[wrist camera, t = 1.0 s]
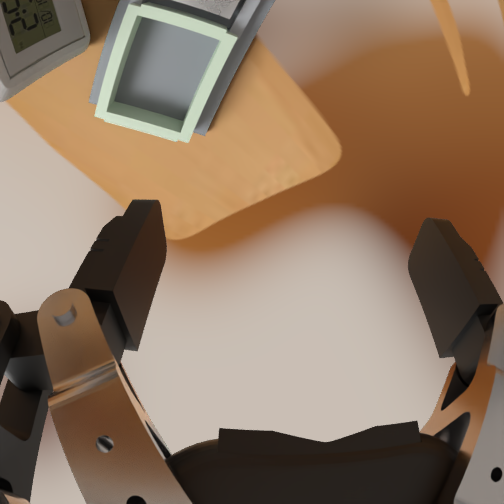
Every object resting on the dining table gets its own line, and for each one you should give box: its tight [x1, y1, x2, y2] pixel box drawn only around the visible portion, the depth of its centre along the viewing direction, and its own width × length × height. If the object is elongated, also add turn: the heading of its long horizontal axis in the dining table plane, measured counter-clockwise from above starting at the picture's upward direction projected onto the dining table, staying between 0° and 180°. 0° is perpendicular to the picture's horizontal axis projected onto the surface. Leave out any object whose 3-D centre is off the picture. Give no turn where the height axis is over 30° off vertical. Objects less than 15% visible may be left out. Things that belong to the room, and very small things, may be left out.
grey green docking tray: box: [89, 0, 275, 143], centre depth 20 cm, size 12×21×3 cm, turn 154°
